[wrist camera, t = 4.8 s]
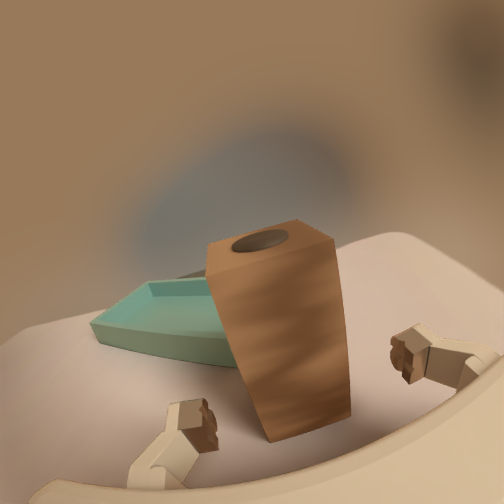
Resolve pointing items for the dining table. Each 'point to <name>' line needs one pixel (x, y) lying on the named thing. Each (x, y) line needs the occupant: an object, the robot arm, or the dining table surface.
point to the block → (284, 324)
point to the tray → (168, 323)
